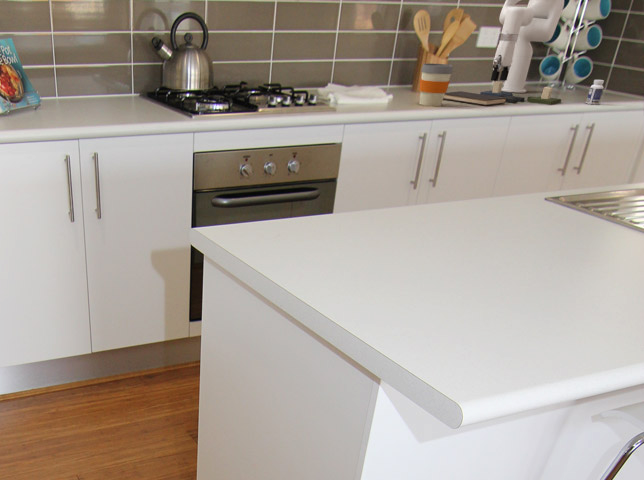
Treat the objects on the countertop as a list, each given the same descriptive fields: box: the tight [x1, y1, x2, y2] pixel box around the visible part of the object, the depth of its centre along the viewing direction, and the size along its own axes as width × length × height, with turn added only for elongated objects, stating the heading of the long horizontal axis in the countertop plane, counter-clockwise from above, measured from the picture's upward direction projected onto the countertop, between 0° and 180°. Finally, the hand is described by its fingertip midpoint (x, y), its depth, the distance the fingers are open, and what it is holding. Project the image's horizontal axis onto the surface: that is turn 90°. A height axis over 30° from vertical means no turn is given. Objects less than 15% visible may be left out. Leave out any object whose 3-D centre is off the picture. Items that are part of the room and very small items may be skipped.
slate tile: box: [479, 80, 514, 97], centre depth 340 cm, size 12×13×6 cm
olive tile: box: [526, 86, 562, 106], centre depth 328 cm, size 12×13×6 cm
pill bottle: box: [585, 79, 605, 106], centre depth 327 cm, size 5×5×10 cm
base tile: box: [497, 95, 526, 104], centre depth 328 cm, size 12×10×2 cm
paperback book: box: [443, 90, 507, 107], centre depth 321 cm, size 16×23×2 cm
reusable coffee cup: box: [419, 62, 454, 107], centre depth 305 cm, size 13×13×15 cm
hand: (498, 80), depth 338 cm, fingers open, 9 cm apart
